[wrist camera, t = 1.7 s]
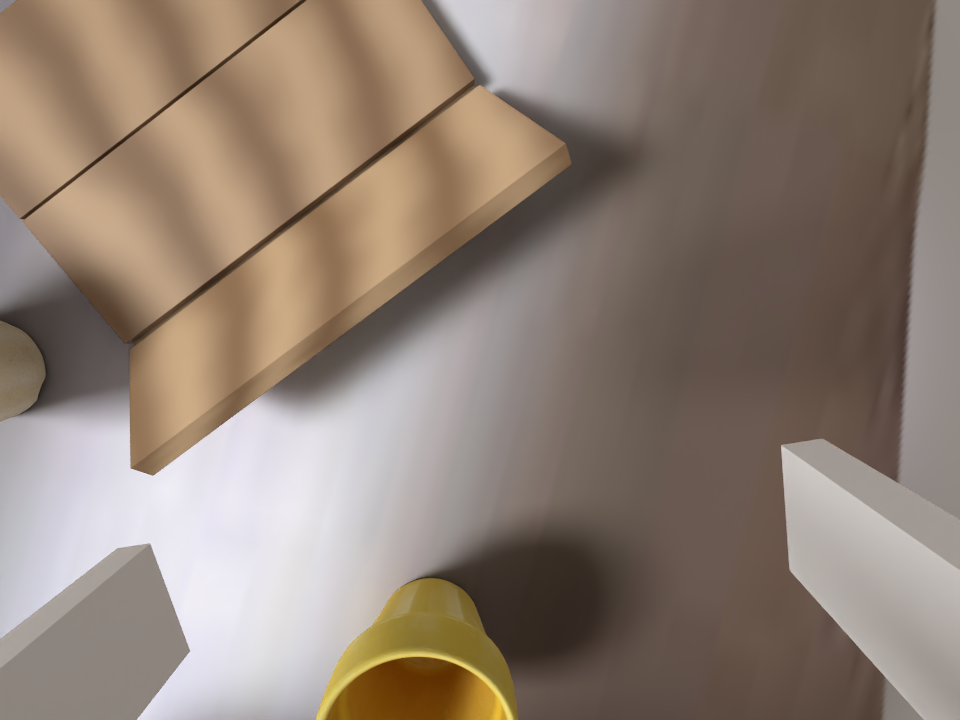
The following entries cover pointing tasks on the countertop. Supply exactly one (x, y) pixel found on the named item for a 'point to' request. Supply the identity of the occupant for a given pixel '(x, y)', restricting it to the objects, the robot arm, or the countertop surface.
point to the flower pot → (18, 371)
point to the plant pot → (422, 663)
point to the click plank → (333, 271)
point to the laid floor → (200, 130)
